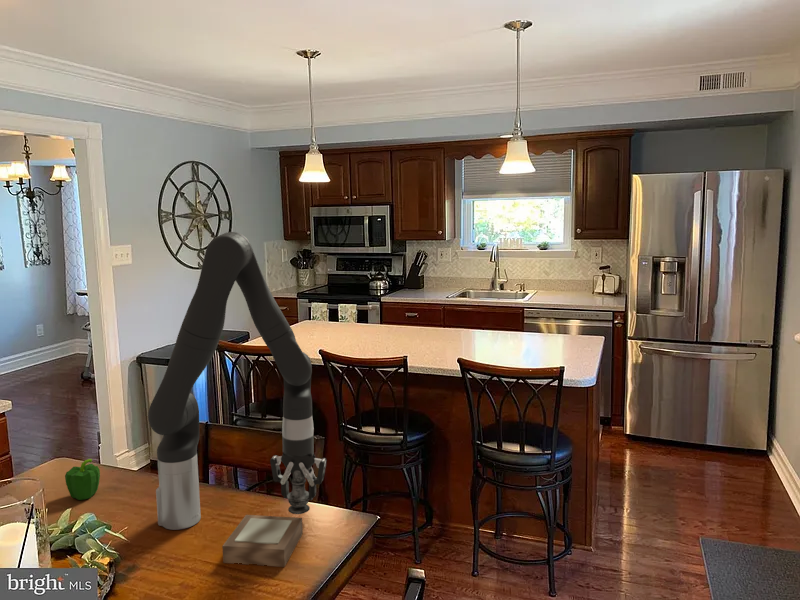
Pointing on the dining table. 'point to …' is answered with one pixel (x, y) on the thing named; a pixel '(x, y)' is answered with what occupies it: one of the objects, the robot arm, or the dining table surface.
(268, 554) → the base block
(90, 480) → the bell pepper
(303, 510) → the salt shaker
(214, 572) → the dining table surface
